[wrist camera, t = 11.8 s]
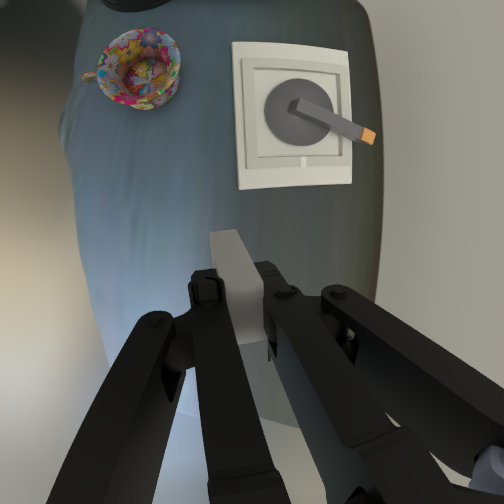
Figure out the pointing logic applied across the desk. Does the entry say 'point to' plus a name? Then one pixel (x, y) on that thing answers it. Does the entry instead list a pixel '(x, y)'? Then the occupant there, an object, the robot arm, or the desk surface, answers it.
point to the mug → (139, 69)
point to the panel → (255, 126)
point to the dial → (307, 115)
